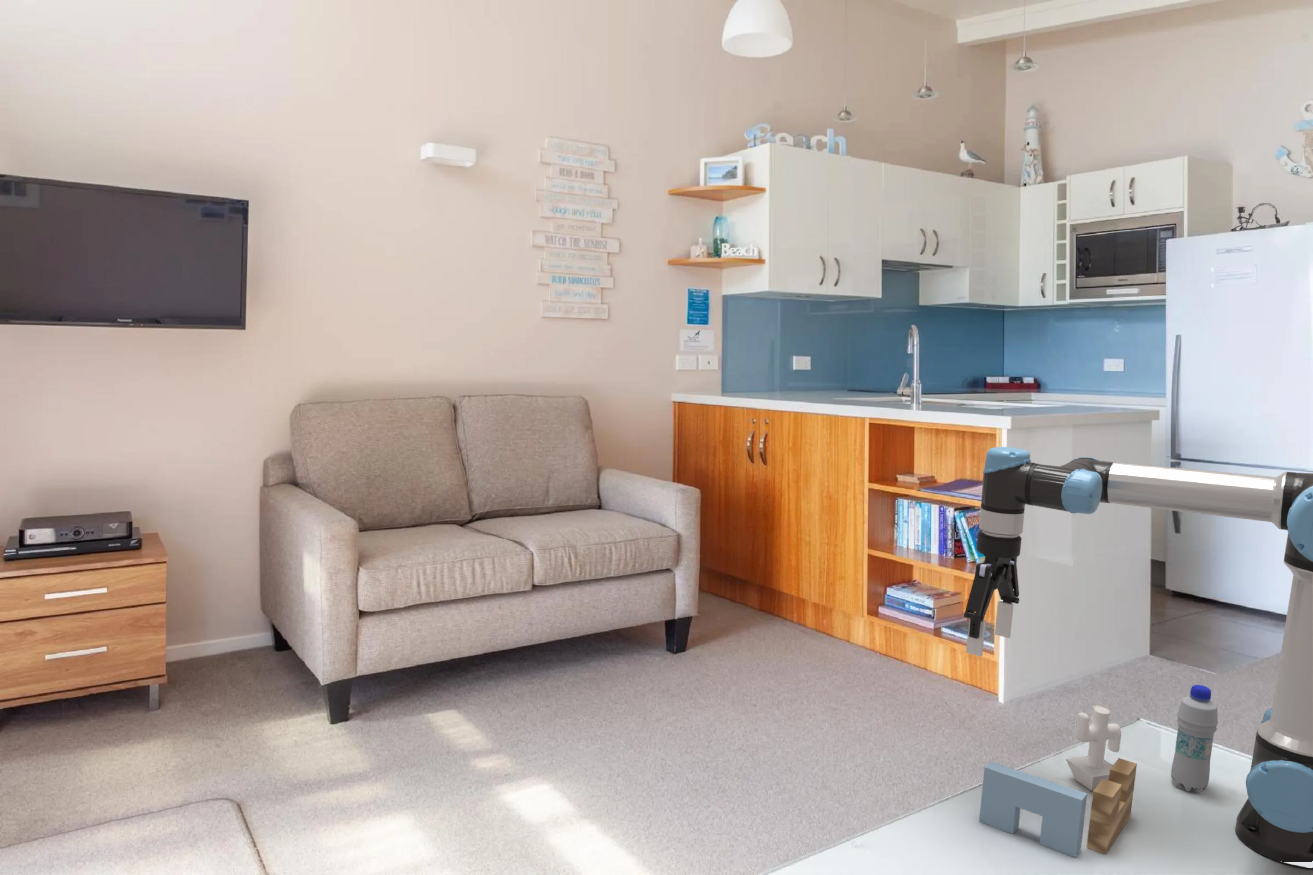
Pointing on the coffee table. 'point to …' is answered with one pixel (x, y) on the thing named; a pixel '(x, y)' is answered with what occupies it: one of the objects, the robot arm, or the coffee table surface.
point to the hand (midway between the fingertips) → (988, 644)
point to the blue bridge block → (1033, 806)
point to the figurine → (1094, 747)
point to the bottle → (1194, 739)
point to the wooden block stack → (1111, 806)
